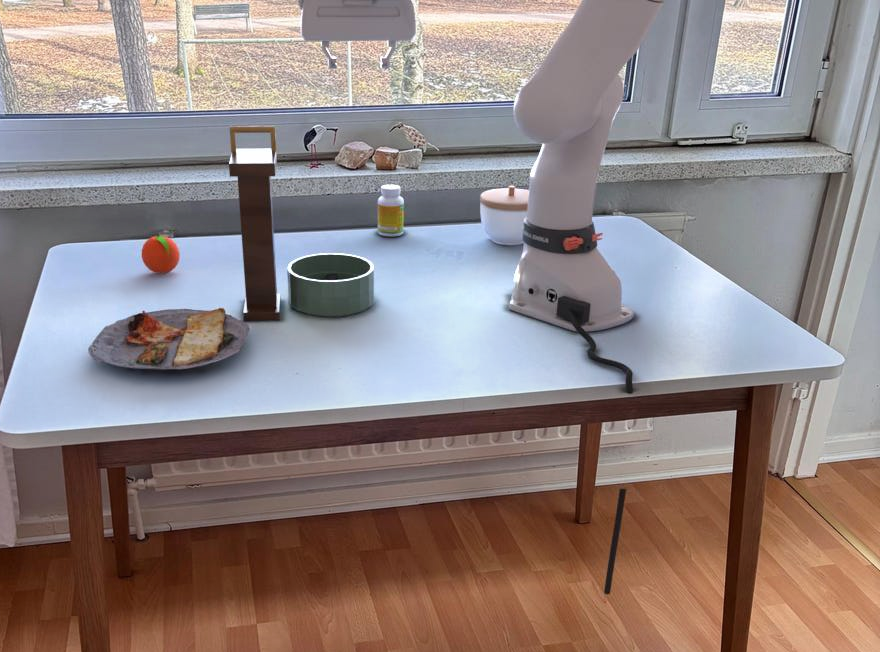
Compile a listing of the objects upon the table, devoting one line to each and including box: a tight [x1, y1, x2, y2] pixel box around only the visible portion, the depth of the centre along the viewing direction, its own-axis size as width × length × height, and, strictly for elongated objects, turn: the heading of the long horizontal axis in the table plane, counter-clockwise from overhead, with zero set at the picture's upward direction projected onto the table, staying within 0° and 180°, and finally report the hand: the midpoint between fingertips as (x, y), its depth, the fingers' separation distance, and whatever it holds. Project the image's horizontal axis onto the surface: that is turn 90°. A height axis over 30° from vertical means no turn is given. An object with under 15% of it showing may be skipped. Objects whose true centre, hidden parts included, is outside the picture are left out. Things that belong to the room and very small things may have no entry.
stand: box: [228, 125, 282, 322], centre depth 163 cm, size 10×7×30 cm
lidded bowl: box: [479, 185, 529, 246], centre depth 204 cm, size 13×13×11 cm
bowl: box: [286, 252, 375, 318], centre depth 173 cm, size 15×15×6 cm
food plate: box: [87, 307, 251, 372], centre depth 156 cm, size 25×23×4 cm
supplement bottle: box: [377, 184, 405, 238], centre depth 208 cm, size 5×5×10 cm
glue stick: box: [324, 274, 340, 281], centre depth 174 cm, size 12×3×3 cm, turn 5°
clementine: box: [141, 234, 181, 275], centre depth 185 cm, size 8×7×7 cm
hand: (358, 68), depth 178 cm, fingers open, 8 cm apart
